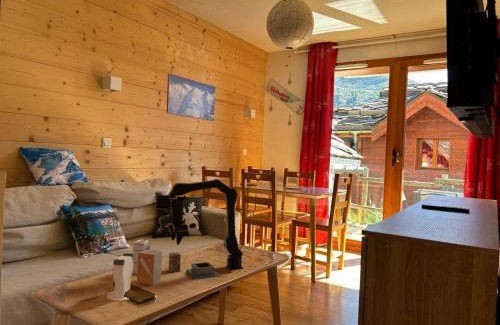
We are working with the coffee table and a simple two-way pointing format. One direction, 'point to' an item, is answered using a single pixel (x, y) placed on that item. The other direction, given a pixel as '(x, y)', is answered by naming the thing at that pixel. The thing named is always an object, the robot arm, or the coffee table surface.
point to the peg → (174, 262)
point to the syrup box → (137, 248)
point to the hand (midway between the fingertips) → (175, 242)
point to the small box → (149, 267)
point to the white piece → (121, 277)
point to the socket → (202, 270)
